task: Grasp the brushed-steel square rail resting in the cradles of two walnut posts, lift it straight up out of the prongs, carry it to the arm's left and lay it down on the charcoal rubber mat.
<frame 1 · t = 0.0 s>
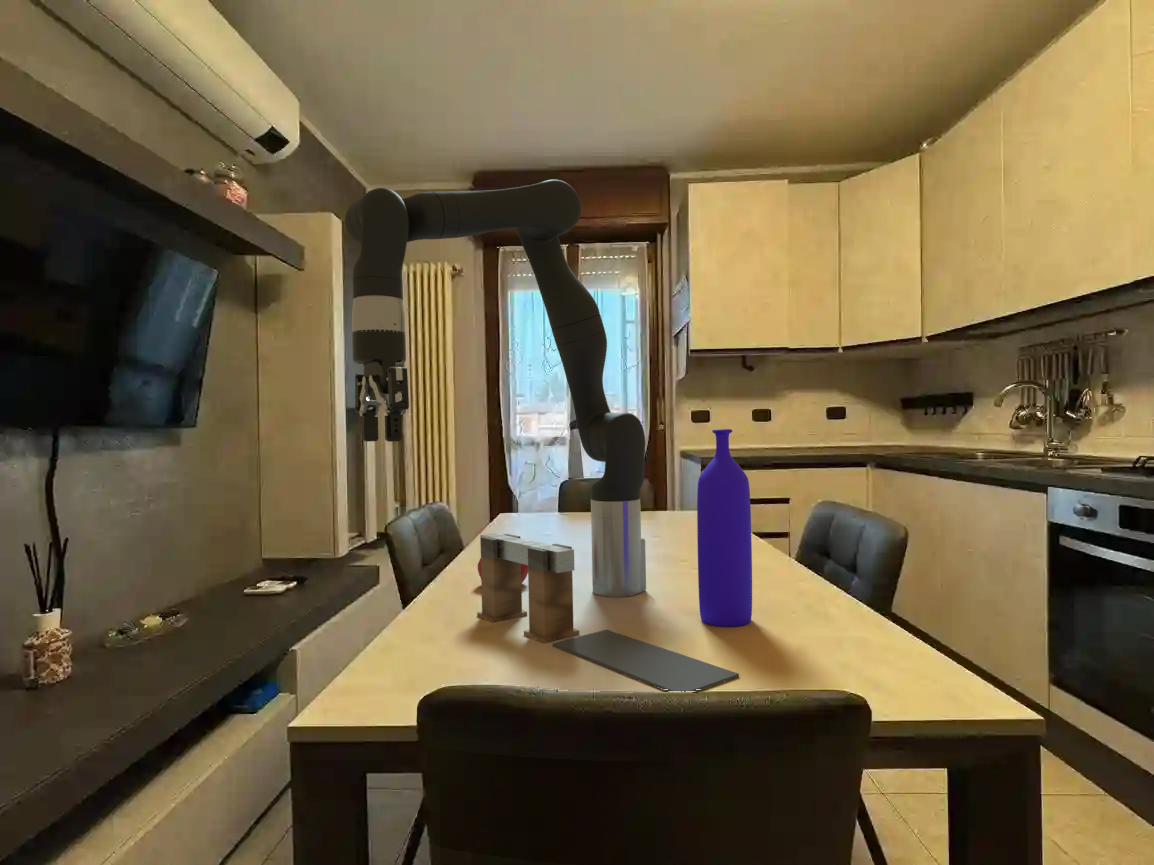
hand: (381, 441, 104), 29 cm above the table, fingers open, 8 cm apart
rail: (524, 560, 111), point 10 cm above the table, touching post 1, post 2
post 2: (551, 634, 105), on the table
bottle: (725, 621, 111), on the table
mat: (639, 660, 93), on the table
post 1: (502, 615, 116), on the table
pomegranate: (503, 586, 139), on the table
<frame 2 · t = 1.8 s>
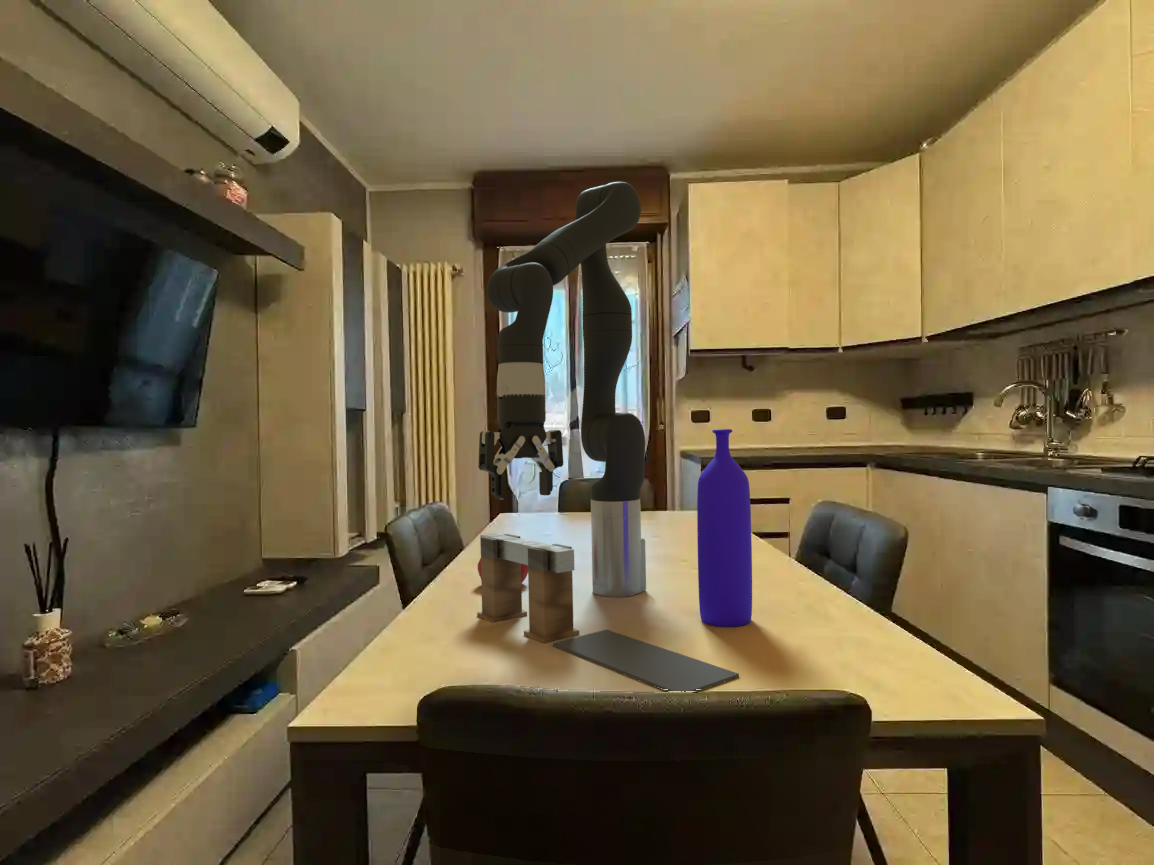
hand: (522, 497, 111), 20 cm above the table, fingers open, 8 cm apart
nothing on the table moved.
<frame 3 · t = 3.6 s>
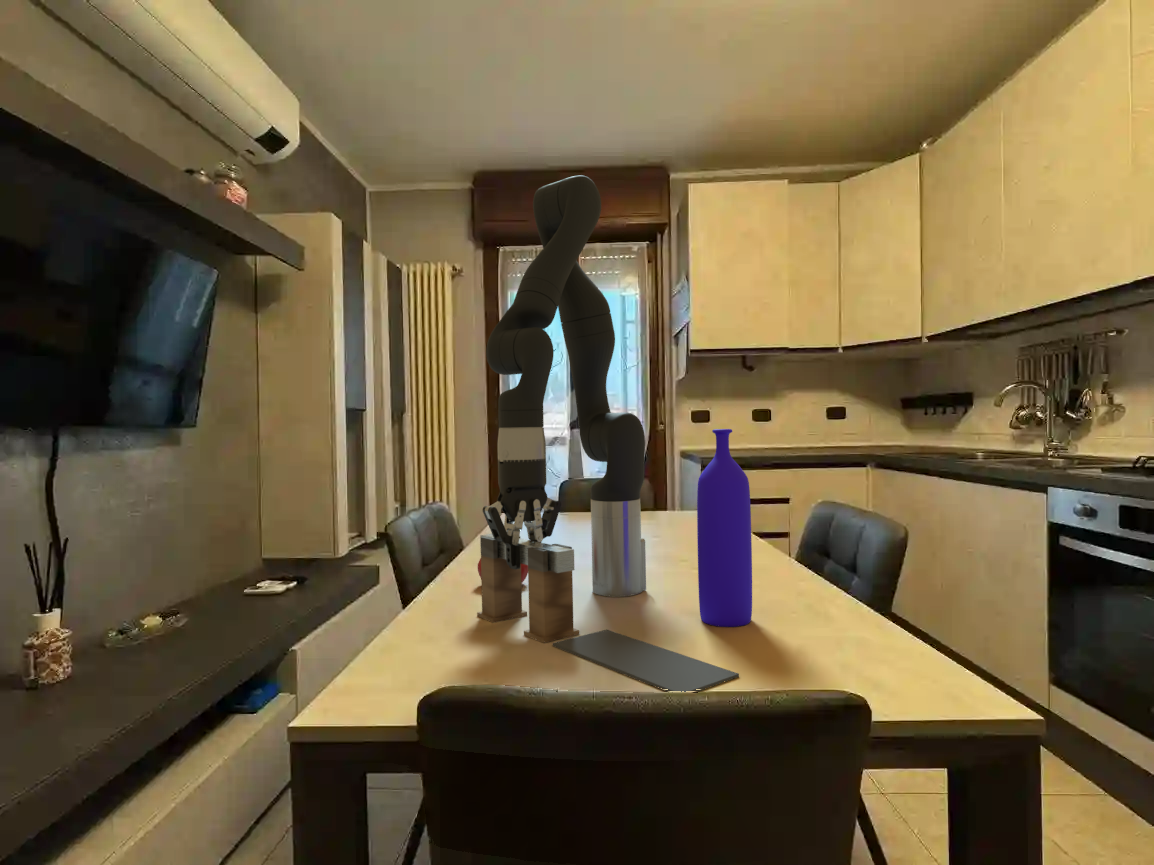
hand: (524, 566, 111), 9 cm above the table, fingers closed on rail, 3 cm apart
rail: (524, 560, 111), point 10 cm above the table, touching gripper, post 1, post 2
everything else where it was.
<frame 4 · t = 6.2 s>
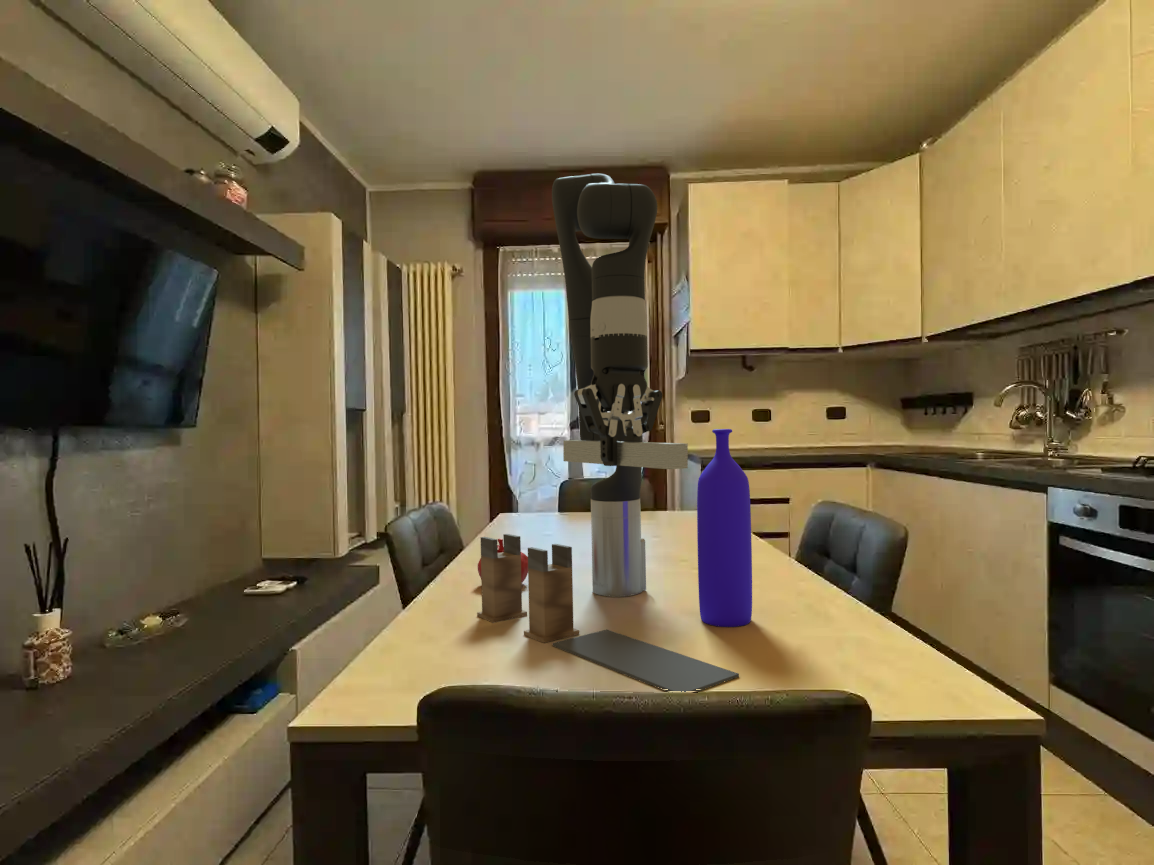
hand: (620, 464, 94), 26 cm above the table, fingers closed on rail, 3 cm apart
rail: (620, 464, 94), point 26 cm above the table, touching gripper
everything else where it was.
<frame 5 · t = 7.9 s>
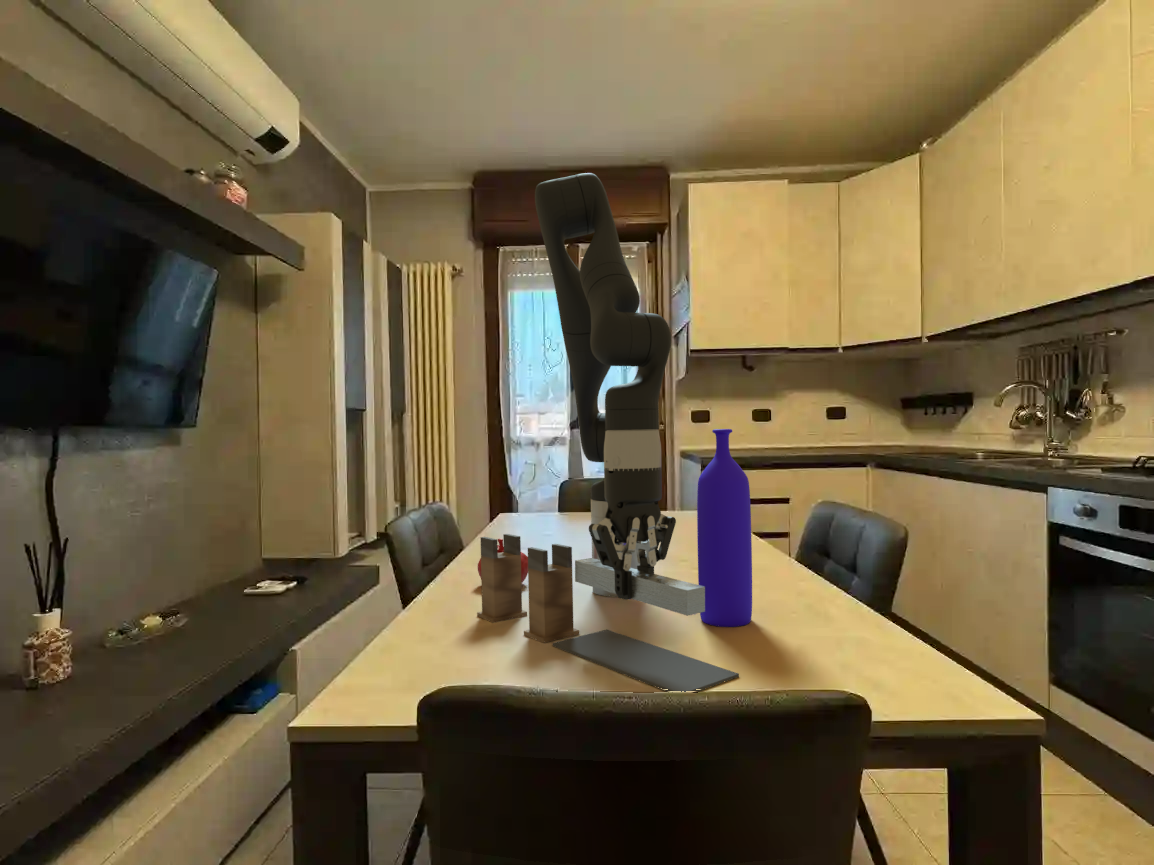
hand: (634, 595, 93), 9 cm above the table, fingers closed on rail, 3 cm apart
rail: (634, 595, 93), point 9 cm above the table, touching gripper
everything else where it was.
when the fingers open (1 cm above the table, at t = 9.3 s): rail drops 1 cm, resting on mat.
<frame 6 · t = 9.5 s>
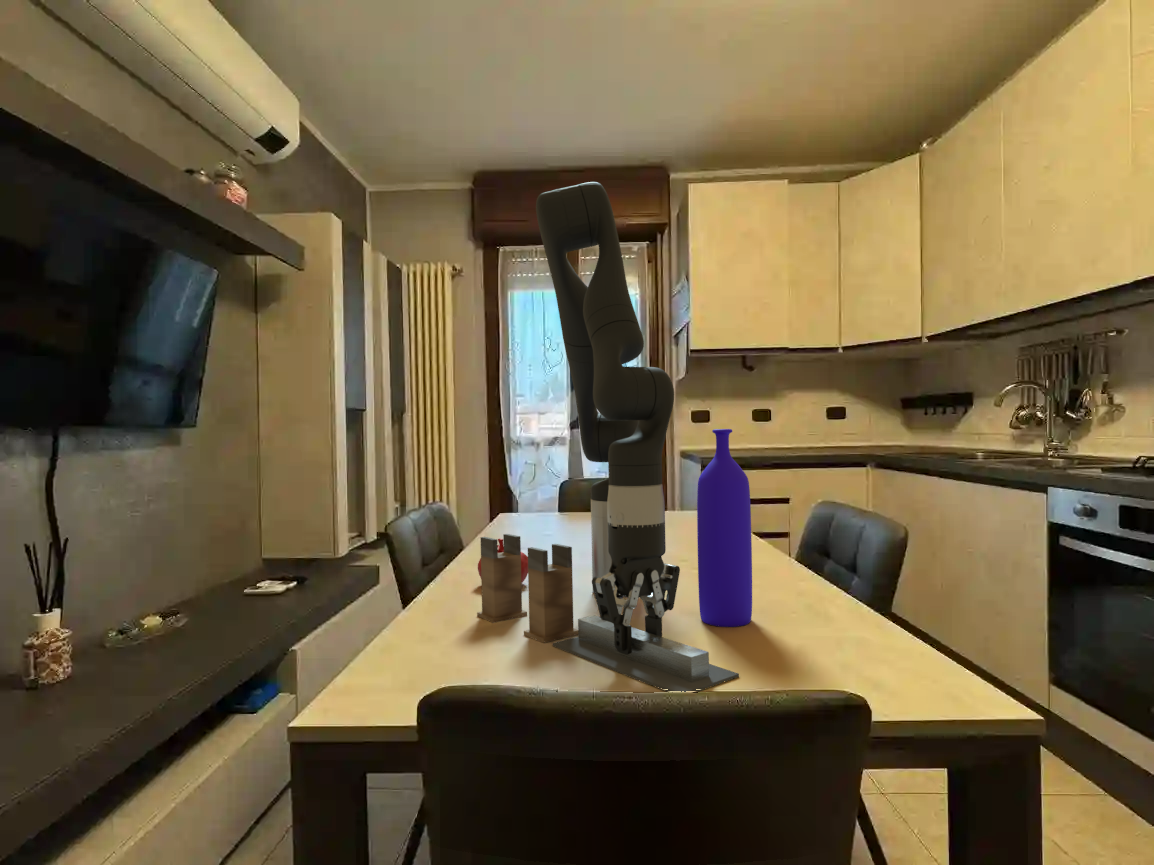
hand: (638, 648, 93), 2 cm above the table, fingers open, 4 cm apart
rail: (638, 656, 93), resting on mat
everything else where it was.
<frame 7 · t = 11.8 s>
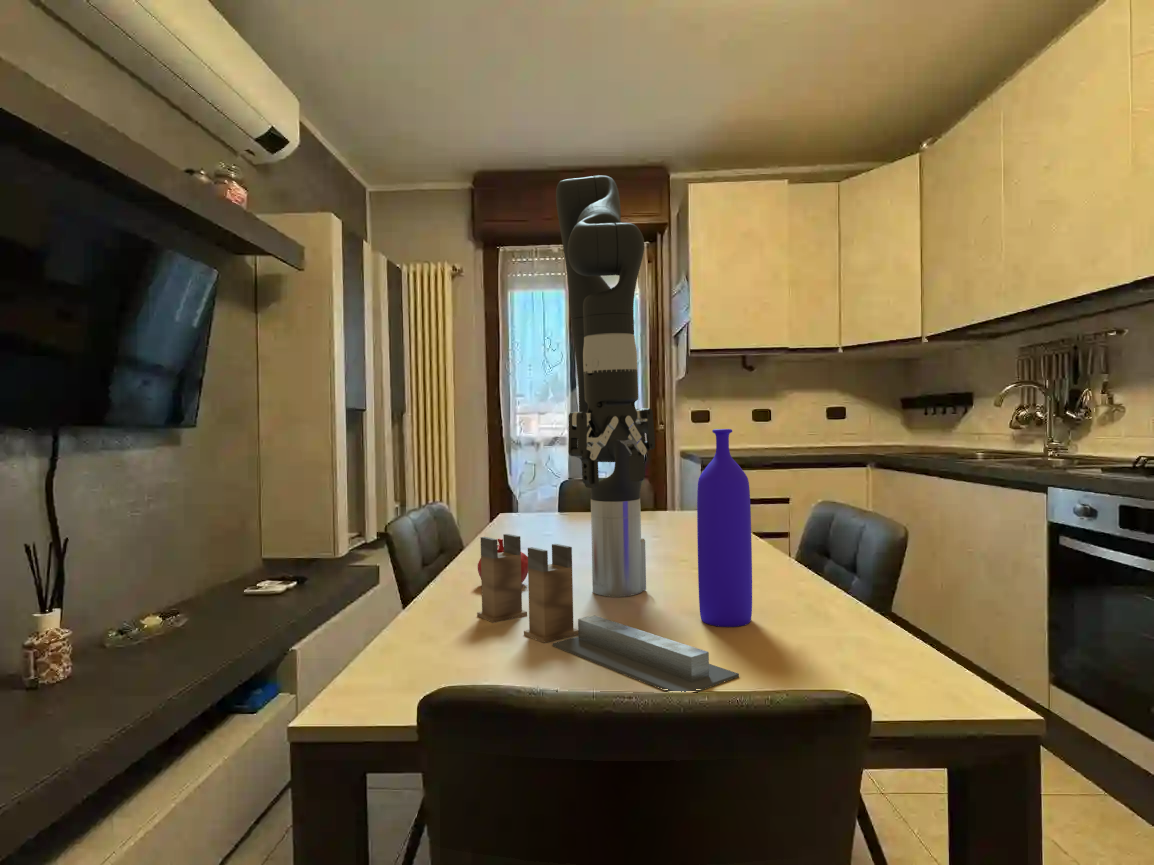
hand: (614, 484, 99), 23 cm above the table, fingers open, 8 cm apart
nothing on the table moved.
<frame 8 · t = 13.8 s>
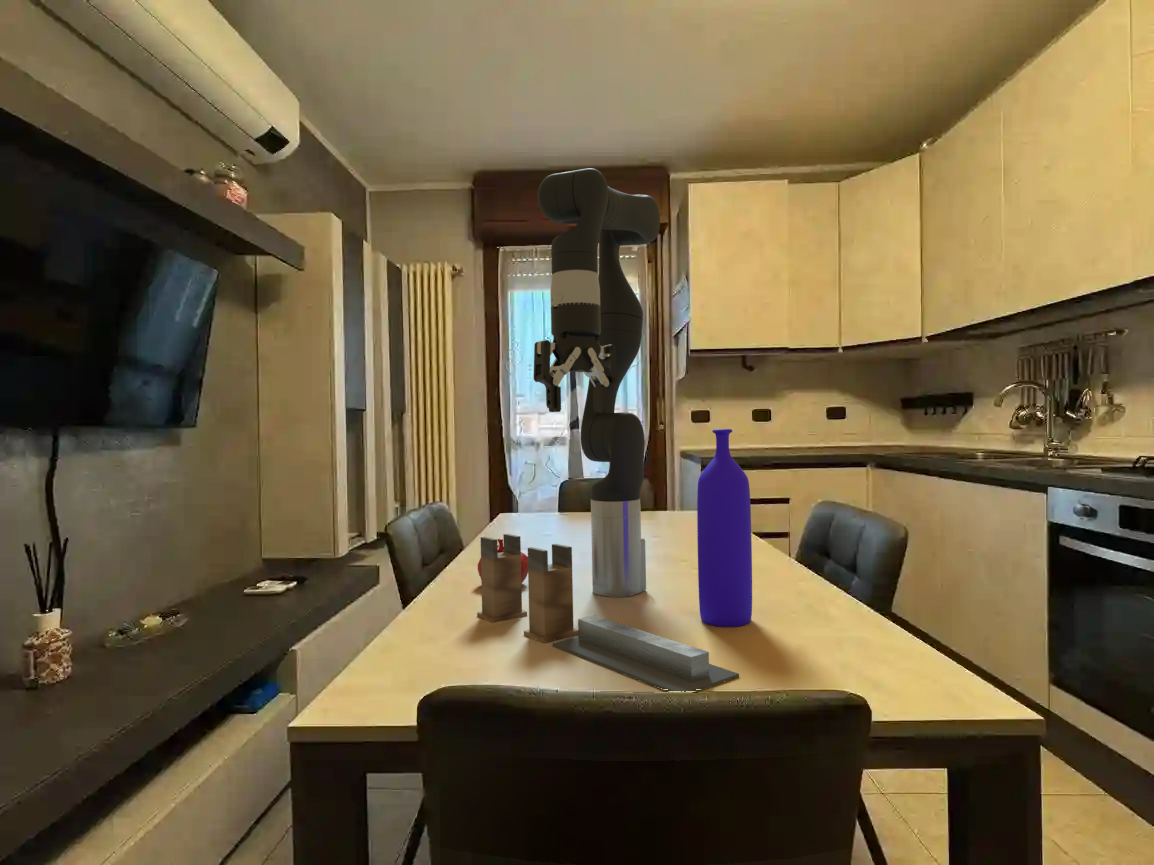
hand: (577, 411, 107), 33 cm above the table, fingers open, 8 cm apart
nothing on the table moved.
at the end: rail inside the target area on the mat (0.2 cm from its centre), point 0.4 cm above the mat's base; rail resting on mat; the gripper is holding nothing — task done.
